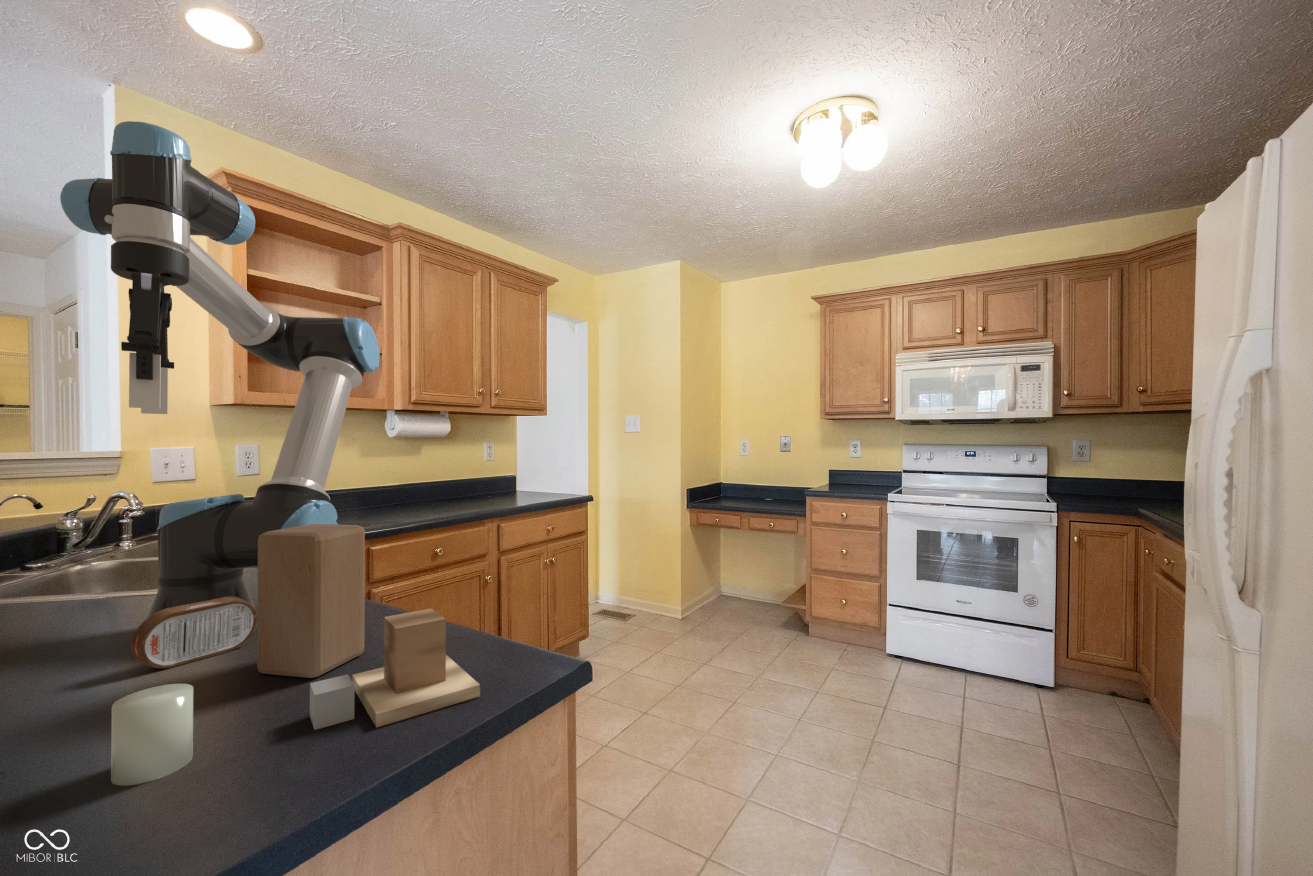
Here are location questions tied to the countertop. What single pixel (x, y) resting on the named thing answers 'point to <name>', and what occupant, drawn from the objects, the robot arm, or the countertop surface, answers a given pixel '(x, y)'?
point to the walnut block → (414, 650)
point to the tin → (194, 632)
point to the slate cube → (331, 701)
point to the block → (310, 599)
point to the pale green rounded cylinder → (151, 734)
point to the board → (412, 694)
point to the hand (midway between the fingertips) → (150, 411)
